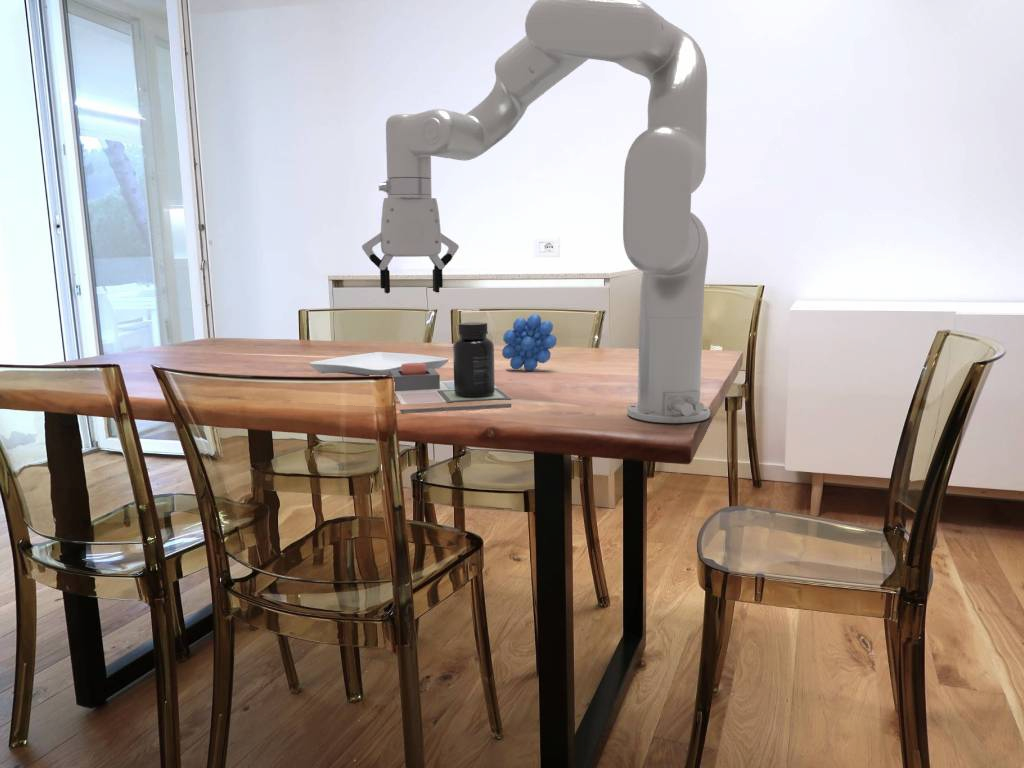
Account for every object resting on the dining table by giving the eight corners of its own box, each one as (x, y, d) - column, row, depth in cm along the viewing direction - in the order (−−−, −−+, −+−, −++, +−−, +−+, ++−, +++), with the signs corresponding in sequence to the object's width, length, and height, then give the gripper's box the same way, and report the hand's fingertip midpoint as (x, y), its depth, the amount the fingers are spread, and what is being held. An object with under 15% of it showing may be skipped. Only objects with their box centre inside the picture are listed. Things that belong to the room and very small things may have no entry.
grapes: (560, 368, 177) (560, 312, 175) (554, 373, 170) (554, 315, 168) (506, 367, 179) (506, 311, 177) (499, 372, 173) (498, 314, 171)
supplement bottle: (496, 391, 142) (496, 321, 140) (492, 398, 135) (491, 325, 133) (457, 390, 143) (456, 321, 141) (450, 398, 136) (449, 325, 134)
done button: (428, 377, 146) (427, 365, 146) (403, 378, 145) (402, 366, 145) (424, 373, 150) (424, 362, 150) (400, 374, 149) (400, 363, 149)
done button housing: (439, 388, 145) (439, 374, 145) (394, 391, 143) (393, 376, 143) (433, 381, 153) (433, 368, 153) (389, 383, 151) (389, 370, 151)
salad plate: (378, 364, 187) (377, 349, 186) (451, 372, 175) (451, 356, 174) (306, 377, 170) (305, 361, 169) (382, 387, 158) (381, 369, 157)
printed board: (512, 408, 136) (512, 398, 135) (402, 414, 131) (402, 404, 131) (486, 386, 156) (486, 378, 155) (390, 391, 151) (389, 382, 151)
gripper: (359, 188, 137) (363, 294, 140) (463, 189, 141) (464, 293, 144) (356, 190, 144) (360, 292, 147) (455, 191, 148) (457, 290, 151)
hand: (411, 291), depth 145 cm, fingers open, 8 cm apart
